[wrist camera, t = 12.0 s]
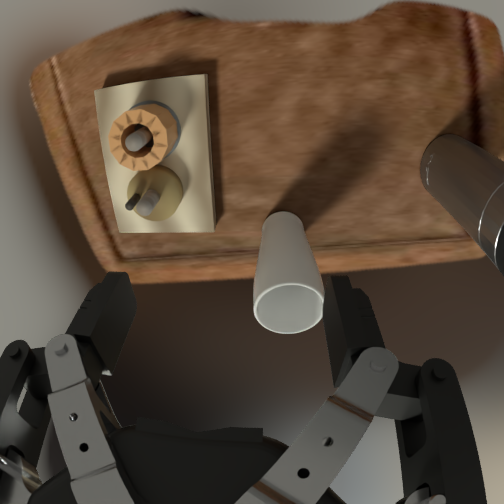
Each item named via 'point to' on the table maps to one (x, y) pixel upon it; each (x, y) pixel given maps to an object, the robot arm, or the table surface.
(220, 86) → the table surface
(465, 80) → the table surface
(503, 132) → the table surface
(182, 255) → the table surface
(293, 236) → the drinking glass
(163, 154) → the gear
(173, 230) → the gear board
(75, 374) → the robot arm
